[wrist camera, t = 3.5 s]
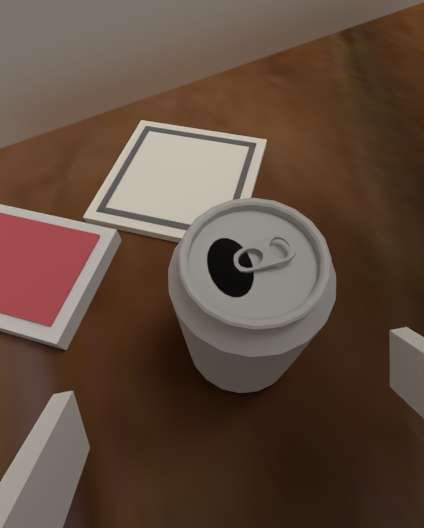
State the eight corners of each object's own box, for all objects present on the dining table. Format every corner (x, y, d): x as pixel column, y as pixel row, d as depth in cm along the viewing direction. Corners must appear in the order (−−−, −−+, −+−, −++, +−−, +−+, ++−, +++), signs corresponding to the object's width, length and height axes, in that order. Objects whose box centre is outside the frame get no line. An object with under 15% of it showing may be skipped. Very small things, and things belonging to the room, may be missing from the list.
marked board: (265, 146, 33) (267, 138, 33) (235, 255, 27) (235, 249, 26) (142, 126, 36) (141, 119, 35) (86, 222, 29) (82, 216, 28)
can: (179, 306, 24) (147, 203, 14) (270, 283, 25) (304, 169, 15) (202, 408, 21) (182, 370, 10) (308, 378, 22) (388, 313, 11)
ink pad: (121, 240, 28) (115, 227, 26) (66, 350, 23) (54, 343, 21) (4, 214, 30) (-9, 200, 28) (-69, 311, 25) (-90, 301, 23)
